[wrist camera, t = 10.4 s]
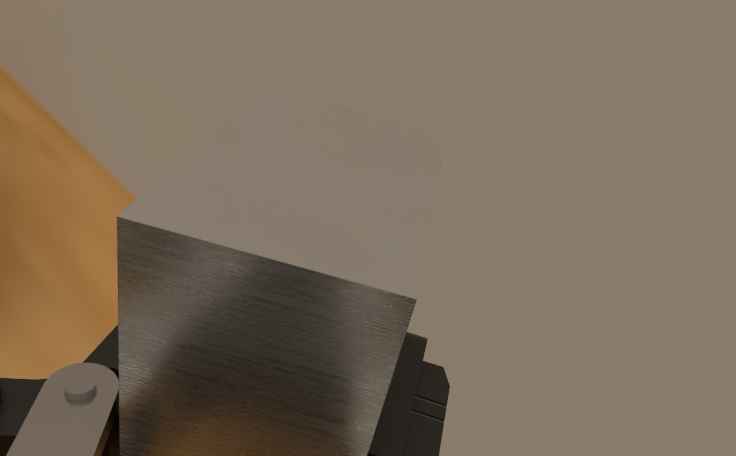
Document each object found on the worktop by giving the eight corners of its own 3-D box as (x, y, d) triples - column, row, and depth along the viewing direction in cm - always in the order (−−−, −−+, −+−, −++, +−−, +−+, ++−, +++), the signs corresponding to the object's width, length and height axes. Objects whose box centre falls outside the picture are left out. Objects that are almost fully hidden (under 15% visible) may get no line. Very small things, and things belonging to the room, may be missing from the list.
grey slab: (122, 690, 15) (117, 216, 8) (210, 495, 20) (257, 85, 13) (277, 738, 15) (417, 299, 8) (329, 529, 20) (446, 135, 13)
